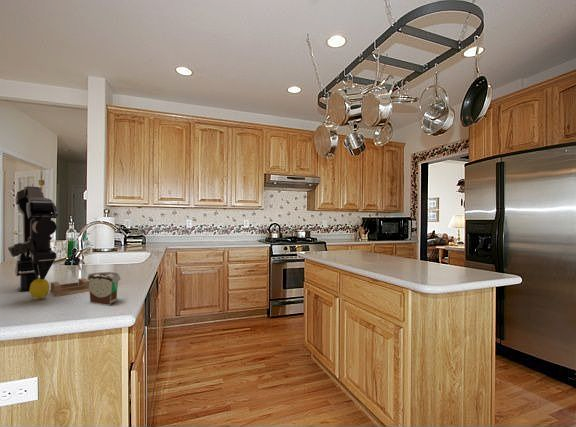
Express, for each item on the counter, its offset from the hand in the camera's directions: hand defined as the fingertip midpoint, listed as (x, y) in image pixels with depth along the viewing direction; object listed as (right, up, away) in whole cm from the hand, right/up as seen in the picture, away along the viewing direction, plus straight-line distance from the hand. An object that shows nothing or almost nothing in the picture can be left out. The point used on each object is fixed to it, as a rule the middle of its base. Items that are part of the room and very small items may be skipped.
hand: (39, 277), depth 108 cm
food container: (+26, -9, -1) cm, 27 cm away
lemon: (0, -8, 0) cm, 8 cm away
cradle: (+3, -8, +11) cm, 14 cm away
